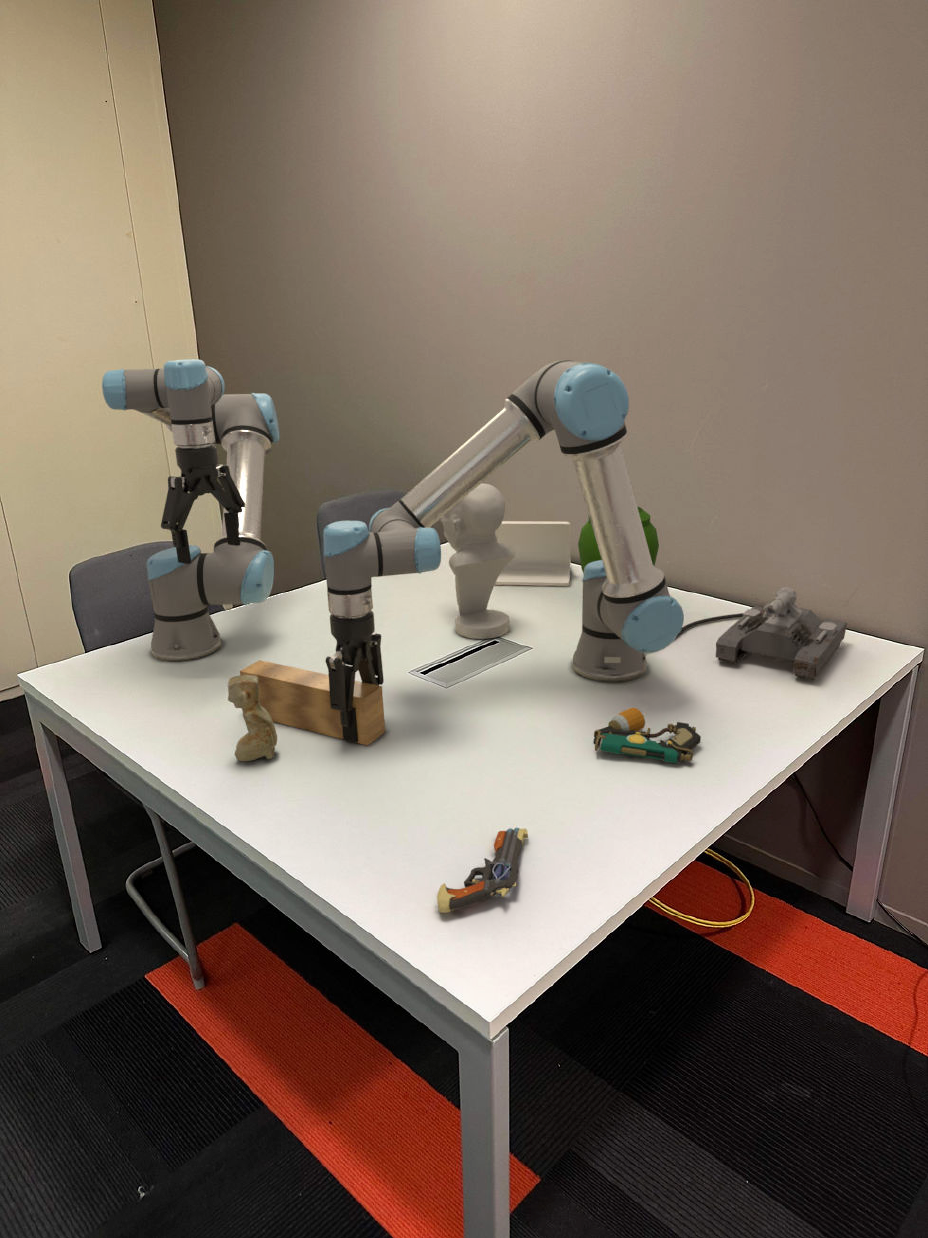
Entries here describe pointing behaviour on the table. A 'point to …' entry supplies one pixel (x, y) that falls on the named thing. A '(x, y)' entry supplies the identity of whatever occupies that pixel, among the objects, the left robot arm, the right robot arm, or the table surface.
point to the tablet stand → (536, 553)
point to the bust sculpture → (477, 560)
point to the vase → (590, 547)
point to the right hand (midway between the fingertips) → (361, 732)
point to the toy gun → (488, 874)
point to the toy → (783, 635)
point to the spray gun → (645, 738)
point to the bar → (315, 701)
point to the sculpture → (252, 719)
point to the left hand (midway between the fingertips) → (210, 553)
